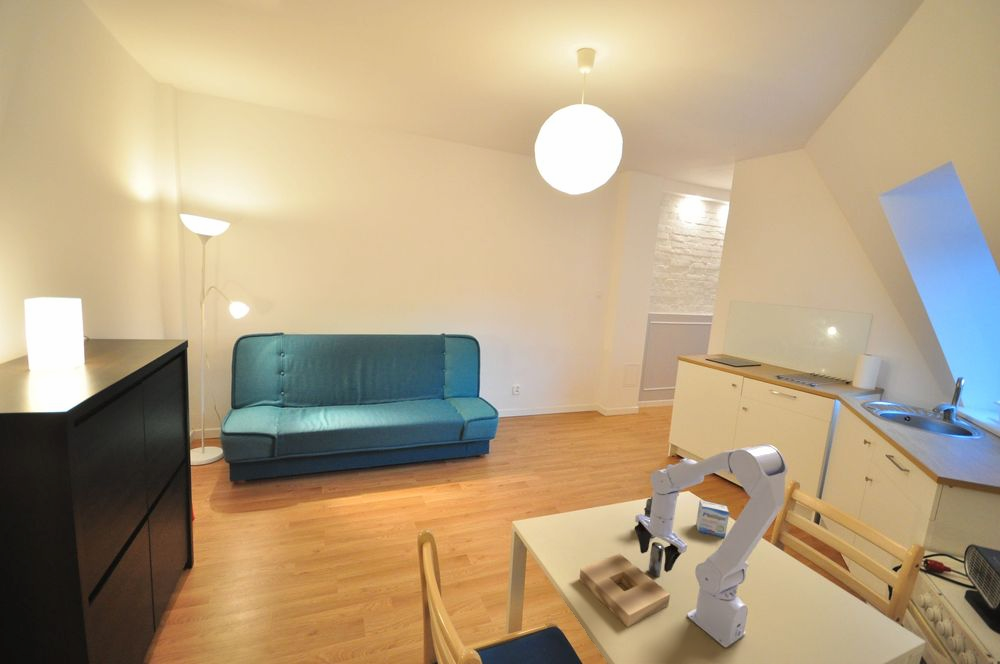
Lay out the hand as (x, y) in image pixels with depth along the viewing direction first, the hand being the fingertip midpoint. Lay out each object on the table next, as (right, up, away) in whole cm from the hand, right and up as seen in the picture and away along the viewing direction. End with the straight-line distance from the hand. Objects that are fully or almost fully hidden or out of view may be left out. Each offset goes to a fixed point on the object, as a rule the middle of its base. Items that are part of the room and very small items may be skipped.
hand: (655, 560), depth 109 cm
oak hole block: (-11, -4, -7) cm, 14 cm away
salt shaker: (+4, -2, +18) cm, 19 cm away
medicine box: (+25, -3, +22) cm, 34 cm away
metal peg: (0, -4, 0) cm, 4 cm away
